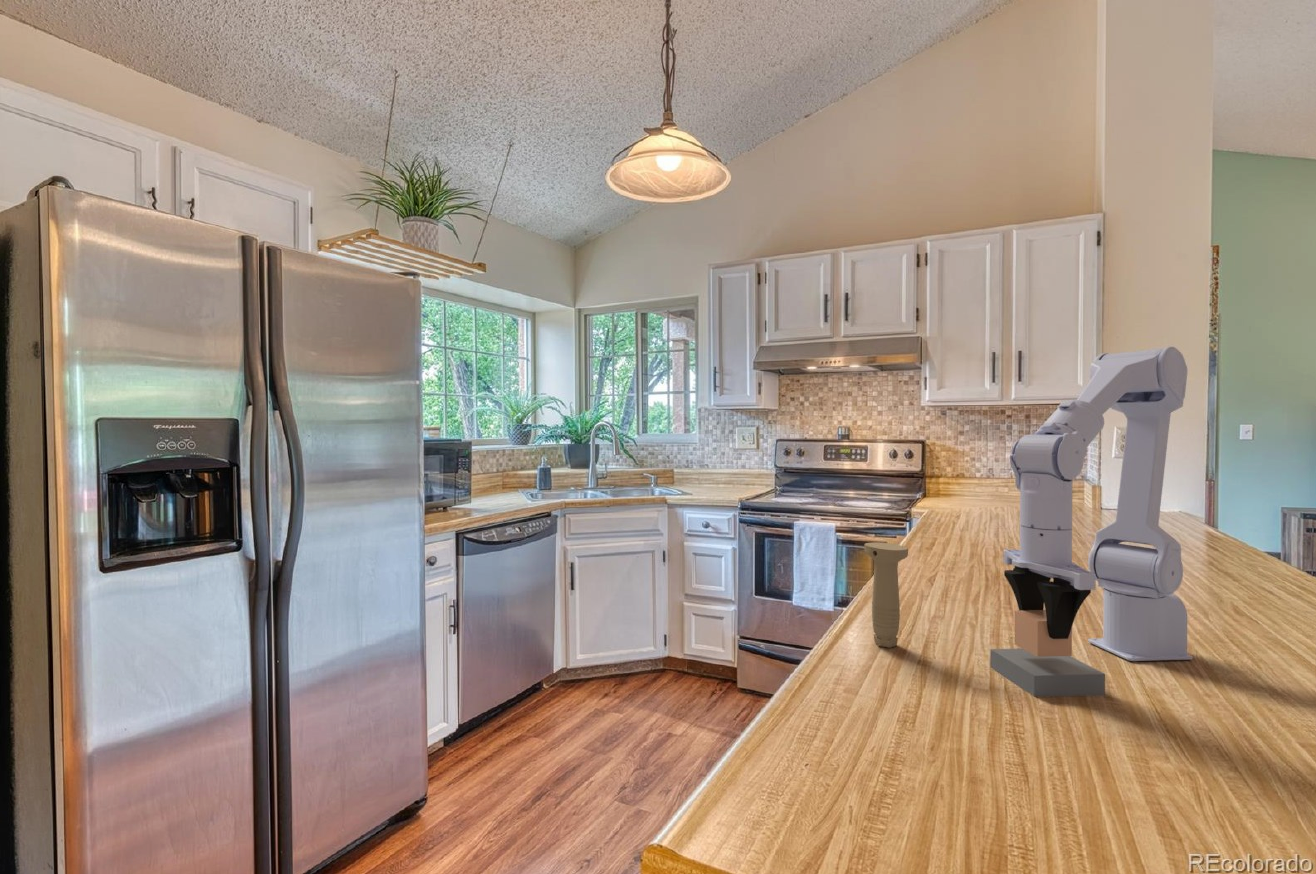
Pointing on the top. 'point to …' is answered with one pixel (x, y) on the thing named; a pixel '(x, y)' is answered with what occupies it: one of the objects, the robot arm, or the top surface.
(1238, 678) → the top surface
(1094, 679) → the plate
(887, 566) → the handle
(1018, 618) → the terracotta block
